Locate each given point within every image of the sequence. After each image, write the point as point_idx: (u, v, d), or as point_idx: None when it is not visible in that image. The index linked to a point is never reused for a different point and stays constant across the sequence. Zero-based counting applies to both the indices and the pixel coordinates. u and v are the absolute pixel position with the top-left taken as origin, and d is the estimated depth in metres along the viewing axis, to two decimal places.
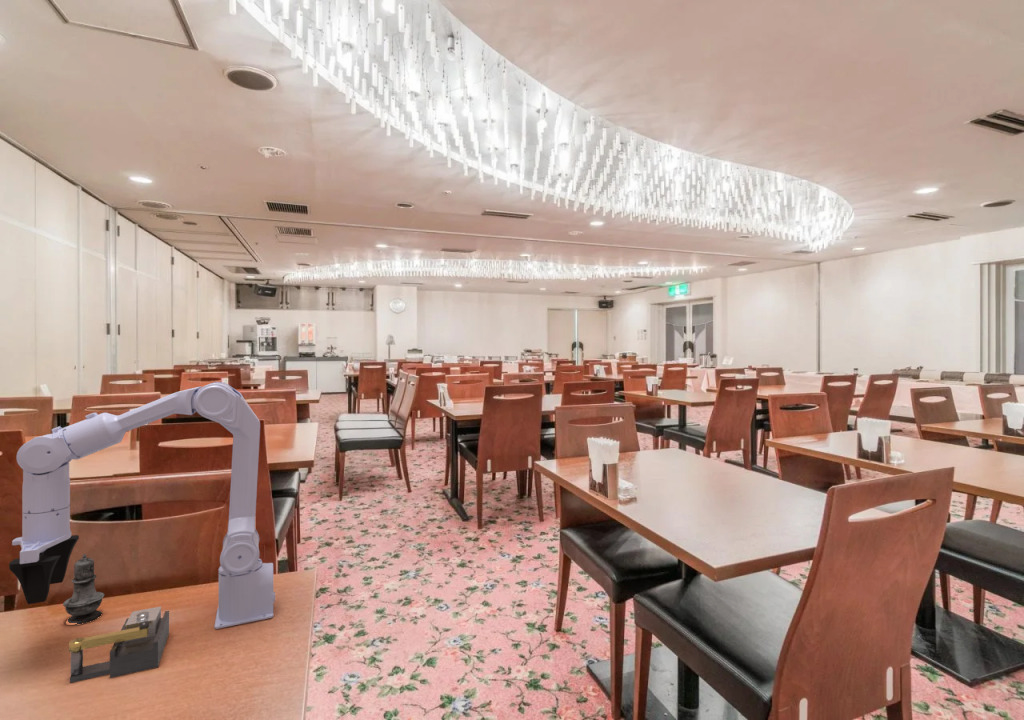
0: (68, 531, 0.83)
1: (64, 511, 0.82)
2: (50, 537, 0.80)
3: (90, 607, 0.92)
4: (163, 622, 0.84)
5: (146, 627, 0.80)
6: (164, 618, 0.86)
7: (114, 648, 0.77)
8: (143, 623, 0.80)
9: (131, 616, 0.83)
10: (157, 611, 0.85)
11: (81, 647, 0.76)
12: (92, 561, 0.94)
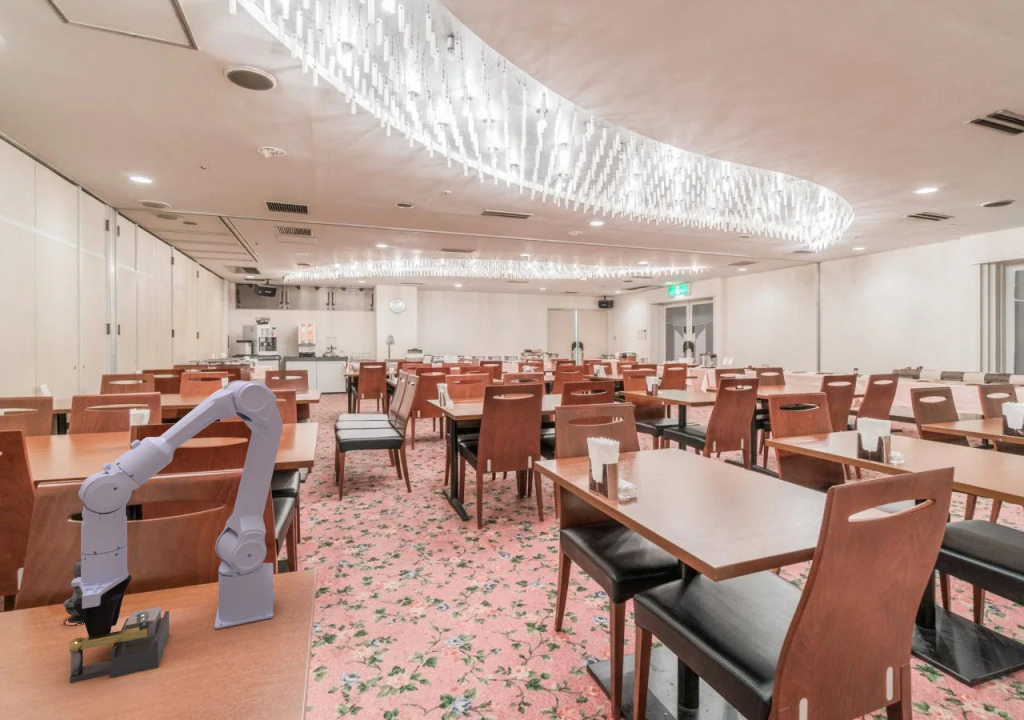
0: (126, 570, 0.81)
1: (122, 550, 0.80)
2: (109, 577, 0.79)
3: None
4: (163, 622, 0.84)
5: (146, 627, 0.80)
6: (164, 618, 0.86)
7: (114, 648, 0.77)
8: (143, 623, 0.79)
9: (131, 616, 0.83)
10: (157, 611, 0.85)
11: (81, 647, 0.76)
12: None
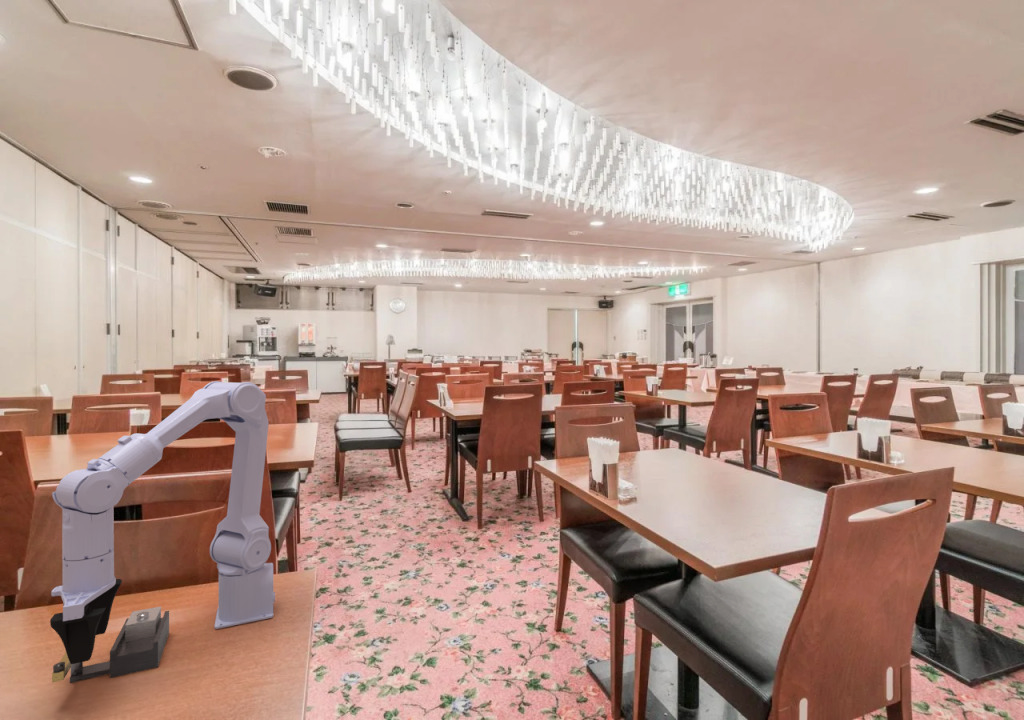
0: (112, 578, 0.74)
1: (108, 556, 0.73)
2: (94, 586, 0.71)
3: None
4: (163, 622, 0.84)
5: (56, 672, 0.68)
6: (164, 618, 0.86)
7: (114, 648, 0.77)
8: (57, 664, 0.69)
9: (131, 616, 0.83)
10: (157, 611, 0.85)
11: None
12: None
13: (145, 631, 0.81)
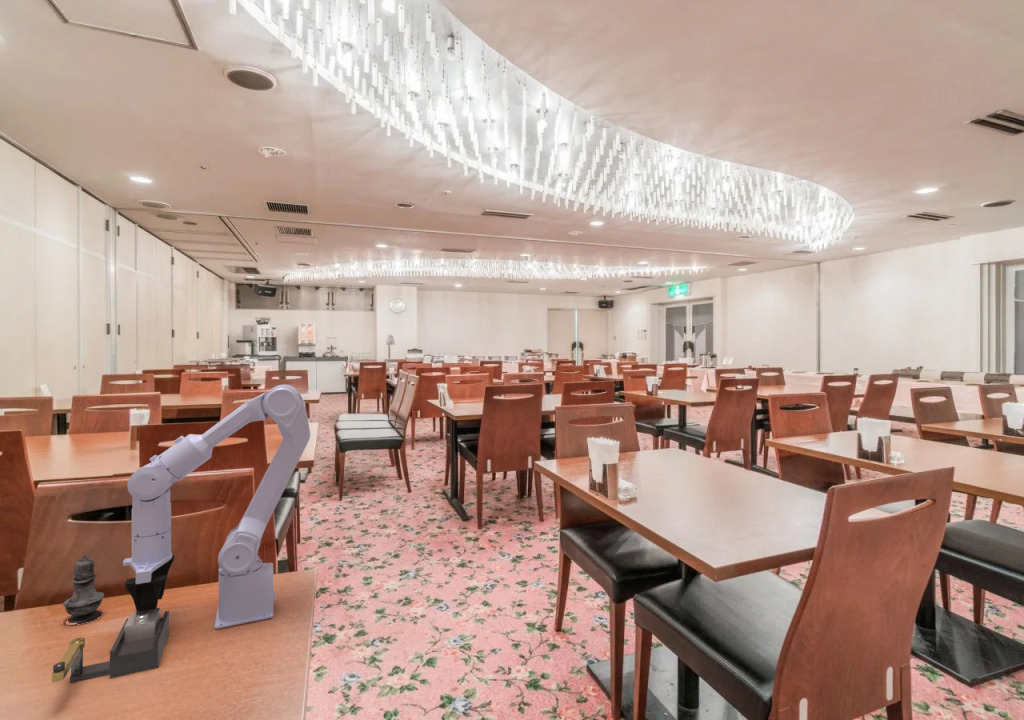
0: (170, 552, 0.90)
1: (167, 534, 0.89)
2: (157, 558, 0.88)
3: (90, 607, 0.92)
4: (163, 622, 0.84)
5: (56, 672, 0.68)
6: (164, 618, 0.86)
7: (114, 648, 0.77)
8: (57, 664, 0.69)
9: (130, 617, 0.83)
10: (156, 612, 0.84)
11: None
12: (92, 561, 0.94)
13: (144, 632, 0.81)
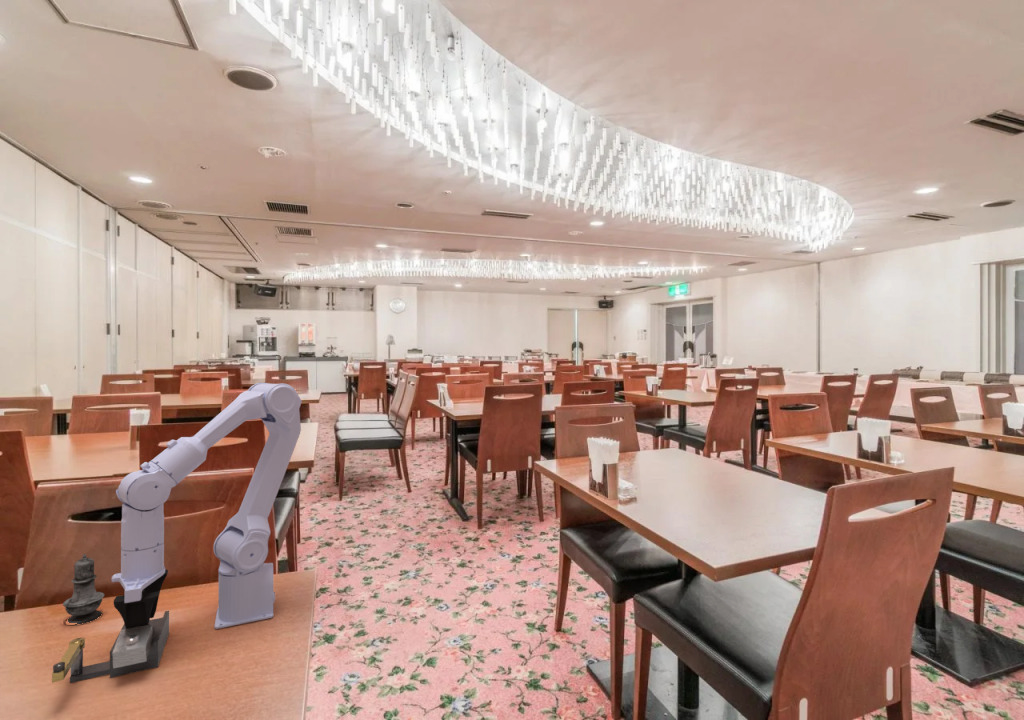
0: (163, 567, 0.84)
1: (160, 547, 0.83)
2: (148, 573, 0.81)
3: (90, 607, 0.92)
4: (163, 622, 0.84)
5: (56, 672, 0.68)
6: (164, 618, 0.86)
7: None
8: (57, 664, 0.69)
9: (119, 638, 0.76)
10: (148, 632, 0.78)
11: None
12: (92, 561, 0.94)
13: (135, 658, 0.75)
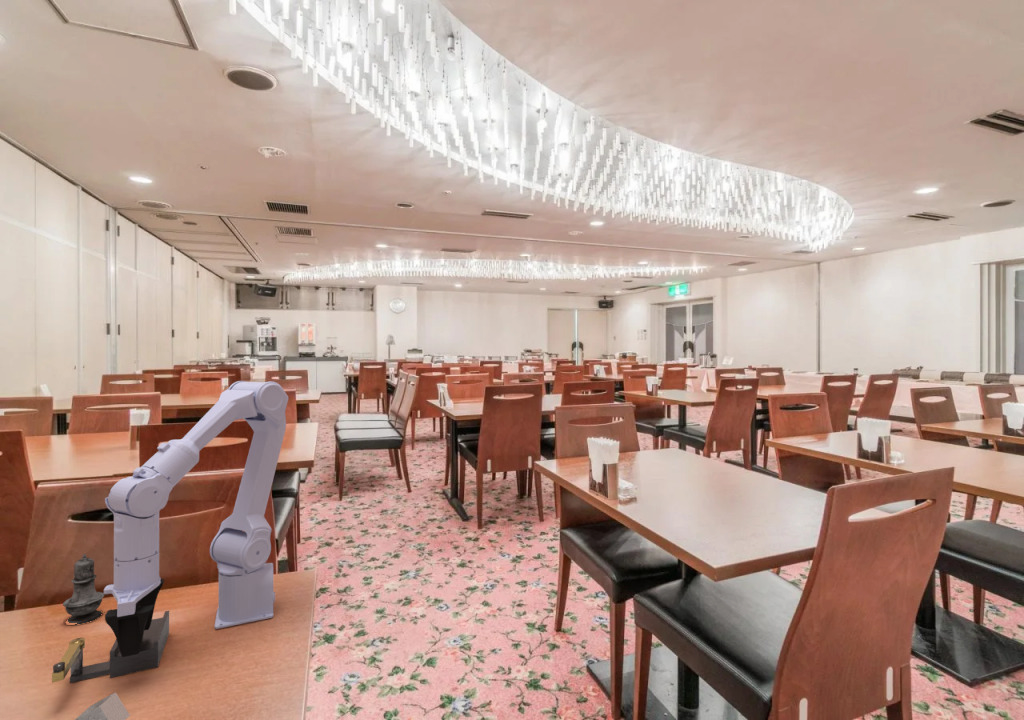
0: (158, 577, 0.80)
1: (155, 557, 0.79)
2: (142, 585, 0.77)
3: (90, 607, 0.92)
4: (163, 622, 0.84)
5: (56, 672, 0.68)
6: (164, 618, 0.86)
7: (114, 648, 0.77)
8: (57, 664, 0.69)
9: None
10: (126, 712, 0.68)
11: None
12: (92, 561, 0.94)
13: (97, 705, 0.66)
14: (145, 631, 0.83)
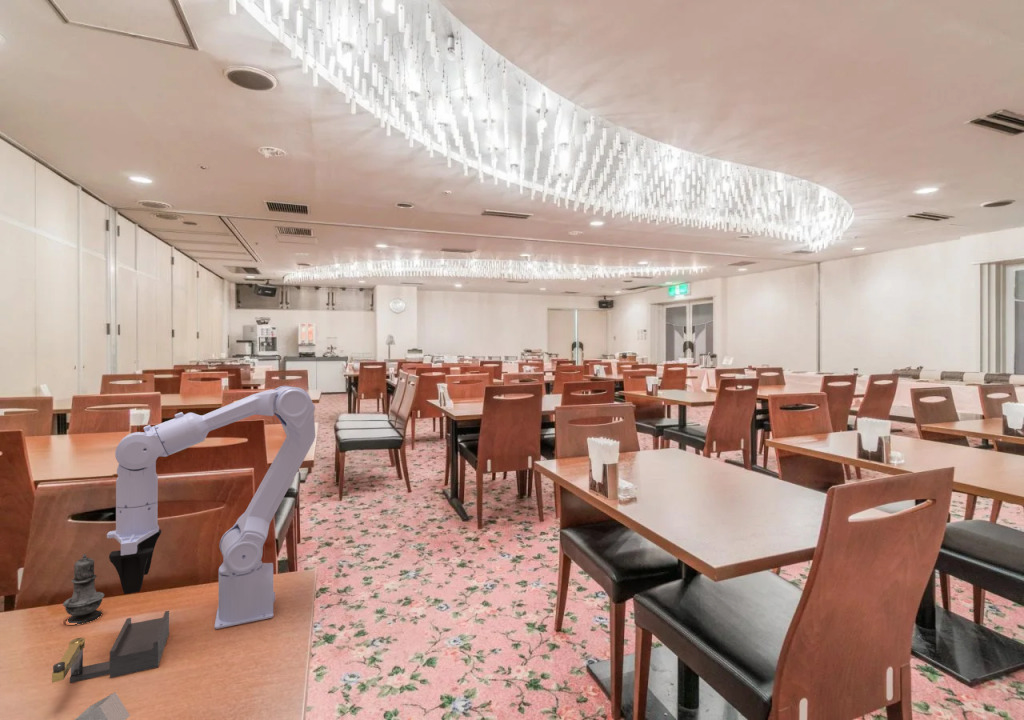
0: (157, 525, 0.87)
1: (154, 506, 0.86)
2: (143, 530, 0.84)
3: (90, 607, 0.92)
4: (163, 622, 0.84)
5: (56, 672, 0.68)
6: (164, 618, 0.86)
7: (114, 648, 0.77)
8: (57, 664, 0.69)
9: None
10: (126, 712, 0.68)
11: None
12: (92, 561, 0.94)
13: (97, 705, 0.66)
14: (145, 631, 0.83)
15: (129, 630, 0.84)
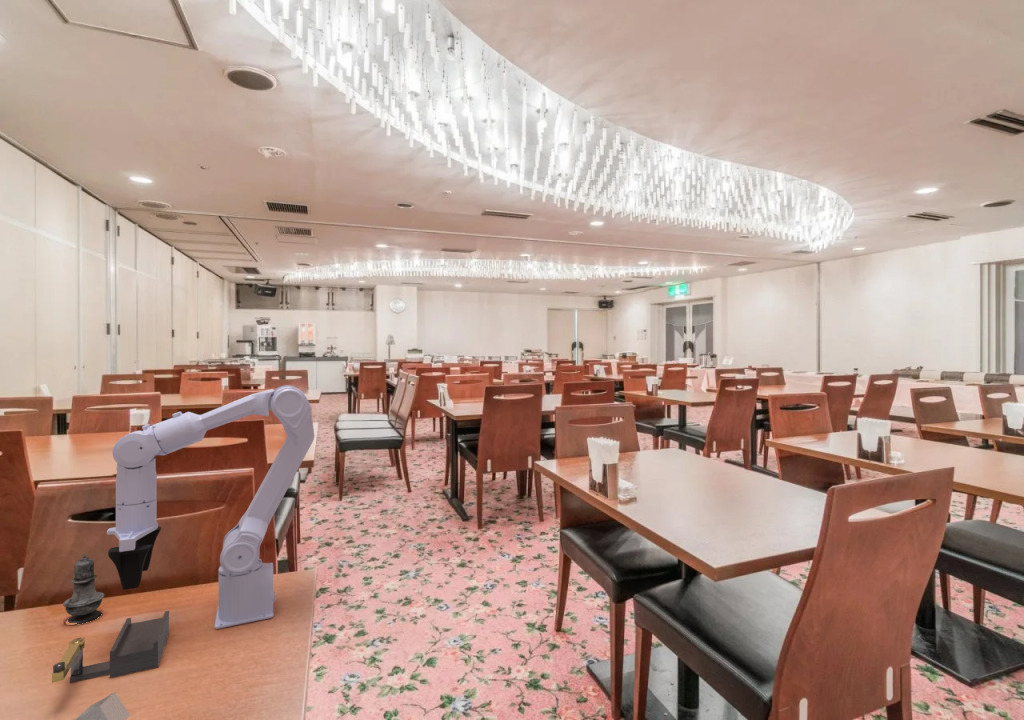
0: (155, 522, 0.89)
1: (153, 503, 0.88)
2: (142, 527, 0.86)
3: (90, 607, 0.92)
4: (163, 622, 0.84)
5: (56, 672, 0.68)
6: (164, 618, 0.86)
7: (114, 648, 0.77)
8: (57, 664, 0.69)
9: None
10: (126, 712, 0.68)
11: None
12: (92, 561, 0.94)
13: (97, 705, 0.66)
14: (145, 631, 0.83)
15: (129, 630, 0.84)
